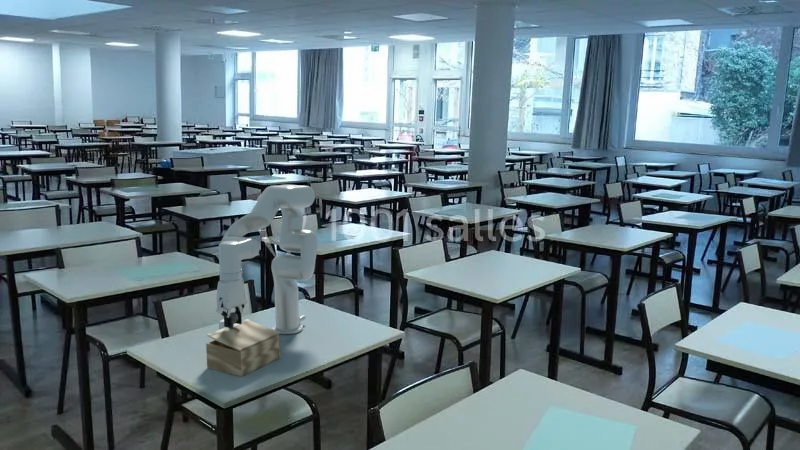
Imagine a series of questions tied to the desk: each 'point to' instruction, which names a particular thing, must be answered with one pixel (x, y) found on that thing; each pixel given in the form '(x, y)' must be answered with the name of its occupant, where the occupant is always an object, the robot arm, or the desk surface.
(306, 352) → the desk surface
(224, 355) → the wooden box
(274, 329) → the robot arm
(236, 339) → the wooden box lid
